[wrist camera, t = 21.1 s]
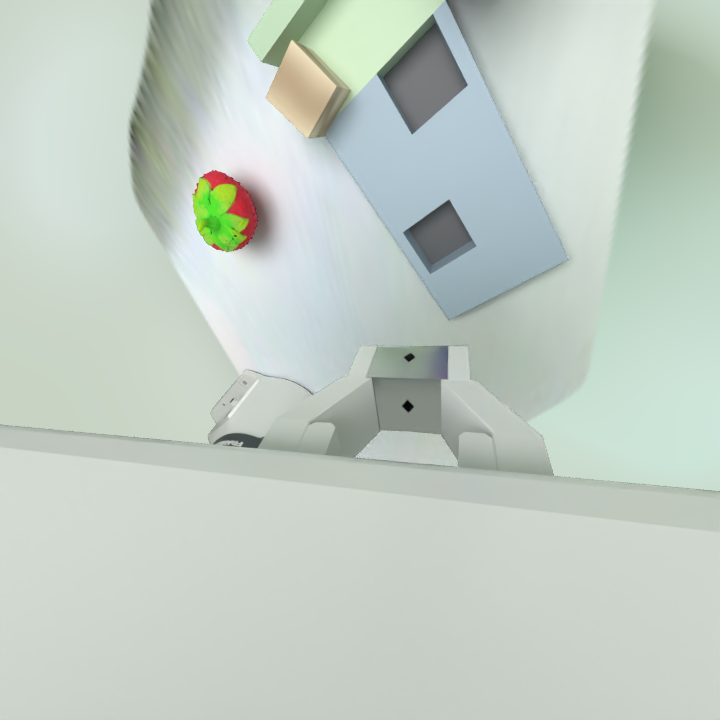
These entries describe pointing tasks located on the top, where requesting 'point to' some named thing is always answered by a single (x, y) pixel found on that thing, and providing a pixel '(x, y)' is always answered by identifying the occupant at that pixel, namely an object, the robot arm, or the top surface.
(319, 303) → the top surface
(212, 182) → the strawberry
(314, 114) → the beech block
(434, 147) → the trap board
